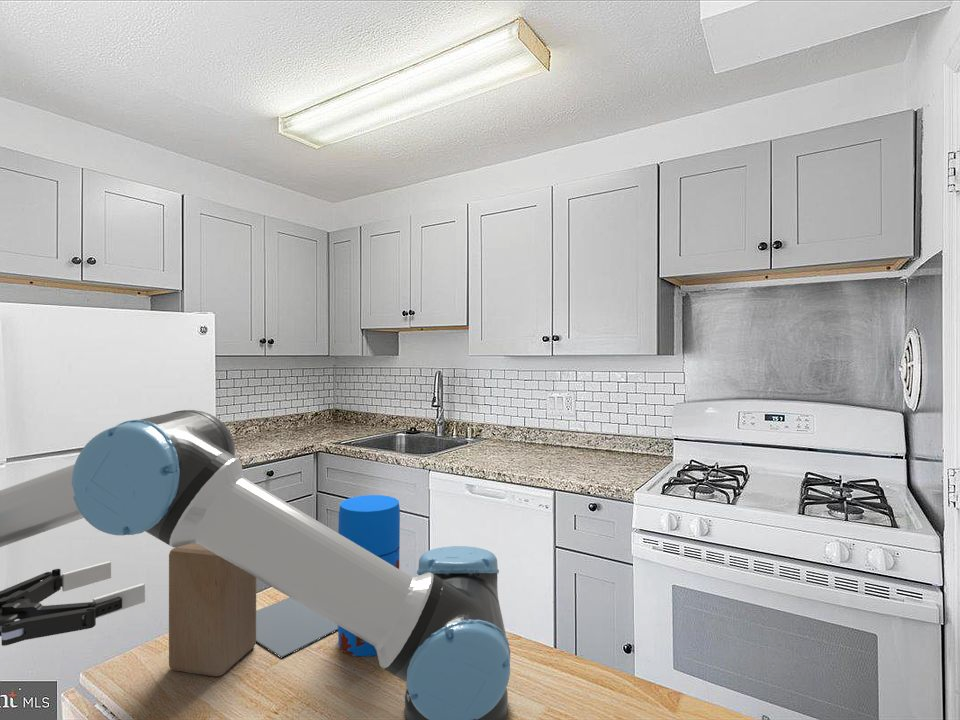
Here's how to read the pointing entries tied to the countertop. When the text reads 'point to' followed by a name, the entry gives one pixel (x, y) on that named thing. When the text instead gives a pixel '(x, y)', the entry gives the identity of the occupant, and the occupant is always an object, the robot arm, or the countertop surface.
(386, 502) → the thermos
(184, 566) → the block
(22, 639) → the robot arm
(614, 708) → the countertop surface
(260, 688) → the countertop surface
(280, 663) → the countertop surface
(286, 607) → the mat
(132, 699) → the countertop surface
